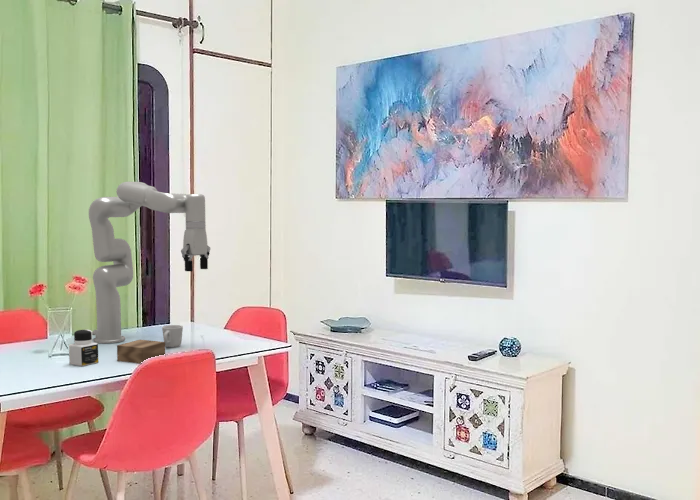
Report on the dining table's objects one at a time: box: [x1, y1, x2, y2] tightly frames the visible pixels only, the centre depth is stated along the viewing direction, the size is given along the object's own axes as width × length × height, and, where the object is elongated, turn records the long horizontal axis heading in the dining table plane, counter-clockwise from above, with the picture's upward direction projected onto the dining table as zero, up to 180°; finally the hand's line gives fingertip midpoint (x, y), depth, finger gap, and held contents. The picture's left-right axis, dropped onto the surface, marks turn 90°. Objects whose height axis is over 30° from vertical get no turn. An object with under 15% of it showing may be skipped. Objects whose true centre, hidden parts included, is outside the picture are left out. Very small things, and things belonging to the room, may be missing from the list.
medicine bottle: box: [68, 329, 99, 367], centre depth 250 cm, size 7×7×12 cm
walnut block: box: [116, 339, 166, 364], centre depth 257 cm, size 12×12×6 cm
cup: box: [161, 324, 184, 348], centre depth 278 cm, size 11×8×8 cm
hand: (196, 270), depth 271 cm, fingers open, 9 cm apart
